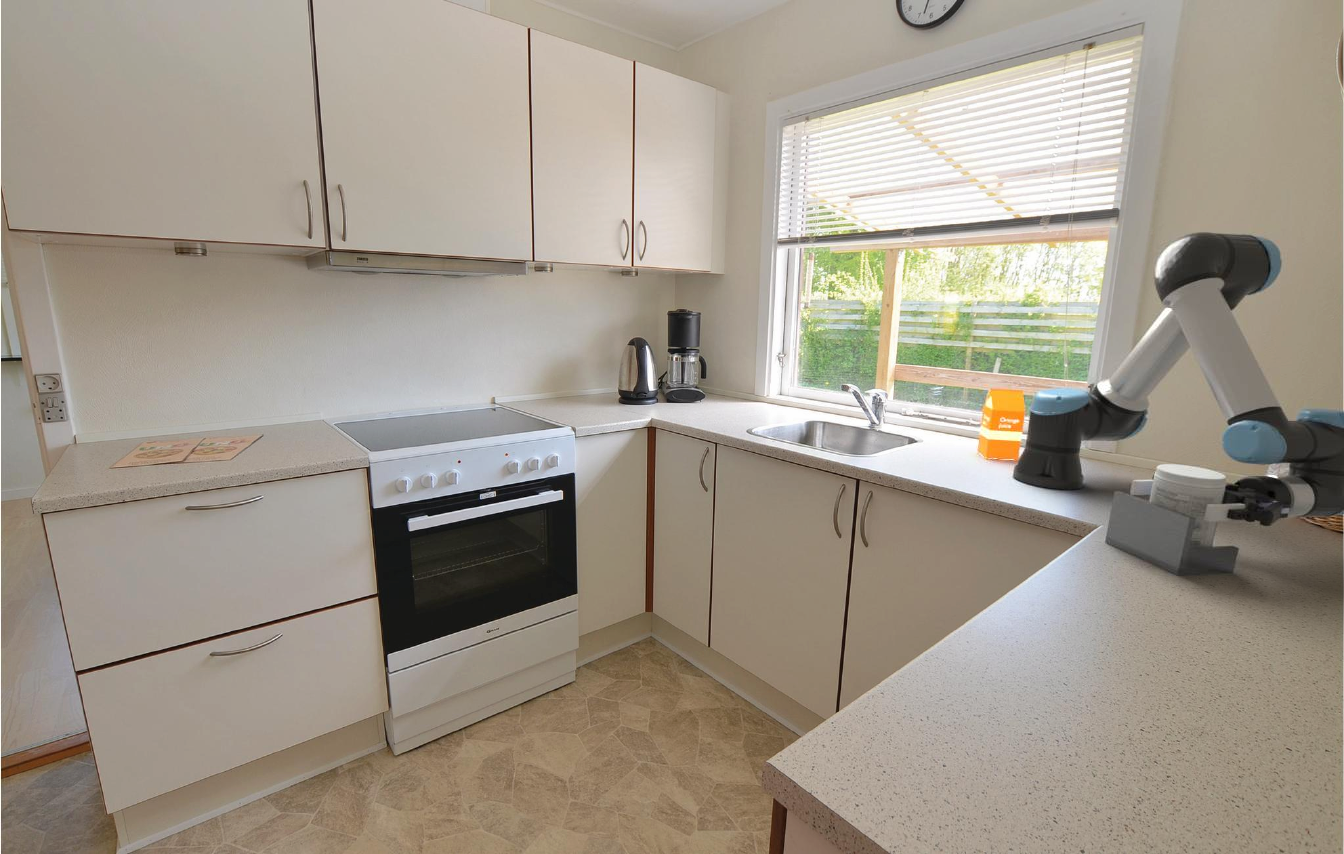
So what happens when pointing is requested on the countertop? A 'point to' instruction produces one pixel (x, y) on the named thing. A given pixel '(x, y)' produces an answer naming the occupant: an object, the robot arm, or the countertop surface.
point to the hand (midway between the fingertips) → (1167, 499)
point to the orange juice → (1002, 424)
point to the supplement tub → (1190, 496)
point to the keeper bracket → (1163, 538)
